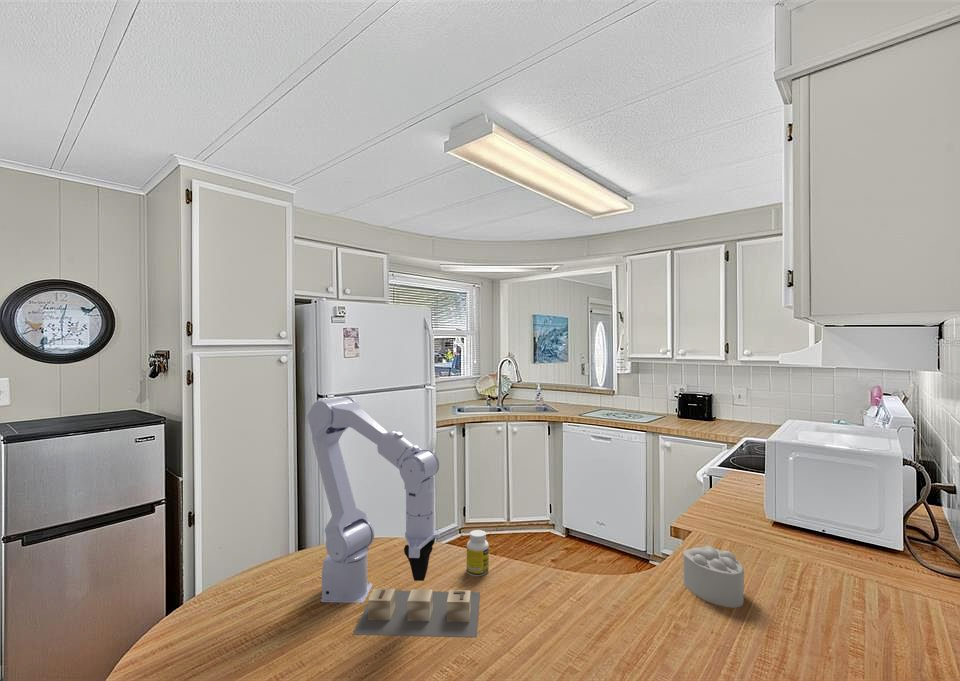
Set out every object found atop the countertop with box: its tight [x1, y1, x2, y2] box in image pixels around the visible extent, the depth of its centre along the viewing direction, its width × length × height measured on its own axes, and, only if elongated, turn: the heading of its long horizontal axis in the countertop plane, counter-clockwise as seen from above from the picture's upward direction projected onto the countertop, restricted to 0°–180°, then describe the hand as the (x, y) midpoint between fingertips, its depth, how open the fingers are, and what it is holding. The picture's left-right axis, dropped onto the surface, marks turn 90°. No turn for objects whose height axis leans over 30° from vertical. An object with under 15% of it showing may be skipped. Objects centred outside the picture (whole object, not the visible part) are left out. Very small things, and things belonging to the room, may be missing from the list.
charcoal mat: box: [352, 590, 481, 638], centre depth 100 cm, size 24×16×1 cm, turn 88°
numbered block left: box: [367, 588, 396, 620], centre depth 100 cm, size 4×4×4 cm
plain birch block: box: [407, 588, 434, 621], centre depth 99 cm, size 4×4×4 cm
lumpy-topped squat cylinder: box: [682, 545, 745, 609], centre depth 109 cm, size 10×13×9 cm
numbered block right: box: [447, 589, 472, 622], centre depth 99 cm, size 4×4×4 cm
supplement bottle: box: [466, 529, 490, 577], centre depth 118 cm, size 5×5×10 cm
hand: (420, 576), depth 99 cm, fingers closed
